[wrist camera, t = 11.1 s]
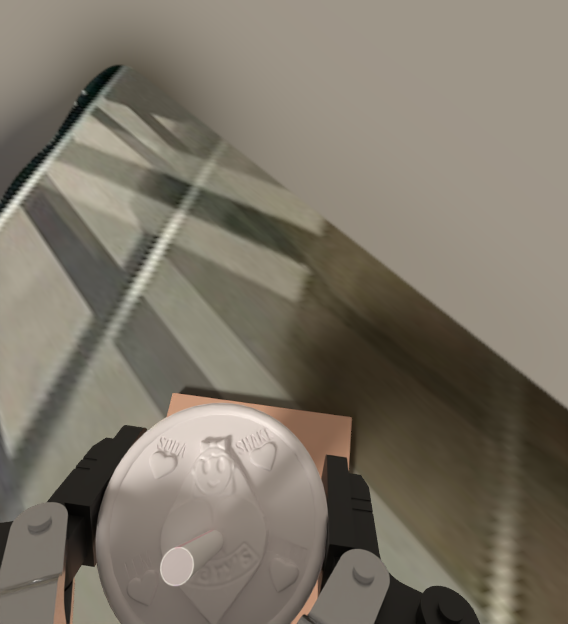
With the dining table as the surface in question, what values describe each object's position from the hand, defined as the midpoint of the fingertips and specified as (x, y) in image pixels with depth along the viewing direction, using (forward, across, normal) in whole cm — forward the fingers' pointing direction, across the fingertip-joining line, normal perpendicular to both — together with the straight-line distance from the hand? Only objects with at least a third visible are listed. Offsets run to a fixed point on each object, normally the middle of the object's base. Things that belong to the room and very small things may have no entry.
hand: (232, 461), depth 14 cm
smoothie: (+4, 0, +6) cm, 7 cm away
